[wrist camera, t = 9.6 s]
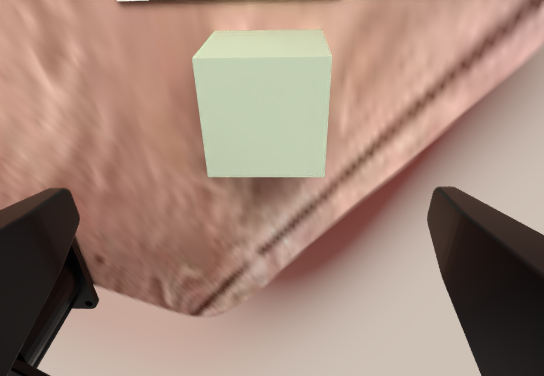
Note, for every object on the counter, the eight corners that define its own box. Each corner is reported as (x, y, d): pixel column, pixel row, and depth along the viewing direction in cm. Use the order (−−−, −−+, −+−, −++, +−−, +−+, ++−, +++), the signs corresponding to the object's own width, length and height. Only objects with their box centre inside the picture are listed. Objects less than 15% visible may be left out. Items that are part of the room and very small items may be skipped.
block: (317, 128, 18) (324, 177, 15) (224, 128, 18) (207, 177, 15) (321, 28, 16) (332, 56, 12) (214, 30, 16) (191, 58, 12)
